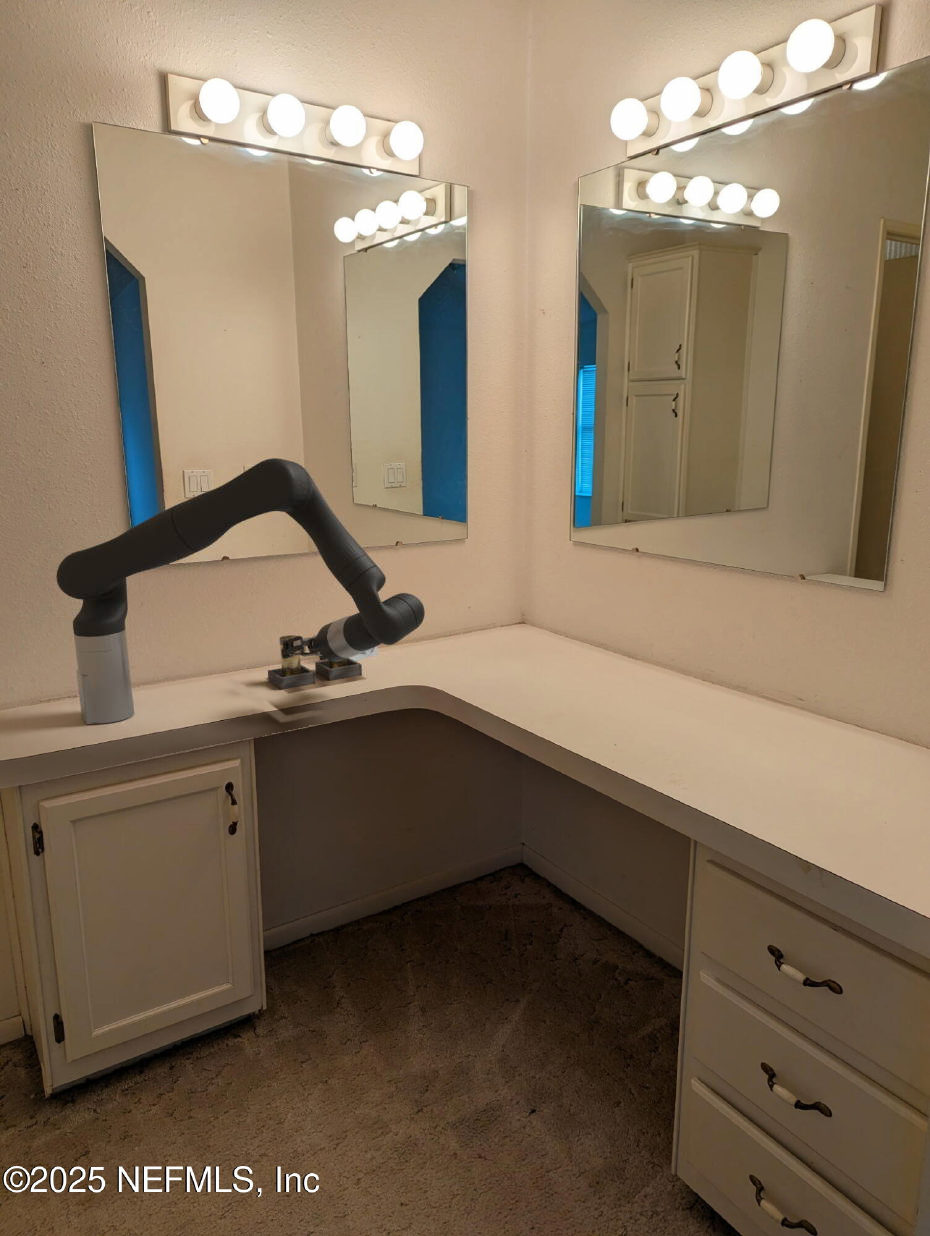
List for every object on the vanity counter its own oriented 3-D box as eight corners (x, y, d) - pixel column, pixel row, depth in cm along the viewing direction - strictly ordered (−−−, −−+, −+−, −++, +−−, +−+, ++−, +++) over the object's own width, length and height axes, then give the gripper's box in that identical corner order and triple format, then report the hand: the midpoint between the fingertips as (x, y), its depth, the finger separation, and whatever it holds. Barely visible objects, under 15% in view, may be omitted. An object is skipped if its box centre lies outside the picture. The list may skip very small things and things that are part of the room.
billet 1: (286, 686, 180) (283, 640, 178) (279, 682, 183) (276, 637, 181) (304, 683, 182) (302, 637, 180) (297, 678, 185) (294, 634, 183)
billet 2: (334, 677, 186) (331, 633, 184) (326, 673, 189) (324, 630, 187) (351, 674, 188) (348, 630, 186) (343, 670, 191) (341, 627, 189)
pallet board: (287, 700, 175) (286, 681, 174) (263, 684, 187) (262, 667, 186) (368, 685, 185) (367, 667, 184) (341, 670, 197) (340, 654, 196)
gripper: (375, 621, 166) (331, 638, 178) (311, 615, 157) (269, 634, 169) (377, 659, 165) (333, 673, 176) (313, 655, 155) (271, 671, 167)
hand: (302, 654), depth 173 cm, fingers open, 8 cm apart
